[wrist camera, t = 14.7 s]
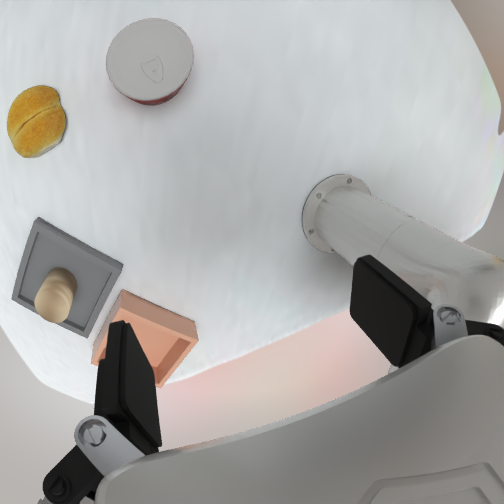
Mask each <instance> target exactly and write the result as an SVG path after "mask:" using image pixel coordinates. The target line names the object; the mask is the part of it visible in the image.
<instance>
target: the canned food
mask: <svg viewBox="0 0 504 504" xmlns="http://www.w3.org/2000/svg"><path fill="white" fill-rule="evenodd" d="M193 57H194V54H193V47H192V44H191V41H190V39H189V37H188V36H187V34H186V33H185V32H184V31H183V30H182V29H181V28H180V27H179V26H178V25H176V24H174V23H172V22H170V21H167V20H164V19H158V18H149V19H144V20H140V21H137V22H134V23H132V24H130V25H129V26H127V27H125V28H124V29H123V30H122V31H121V32H119V33H118V34H117V36H116V37H115V38H114V39H113V41H112V43H111V45H110V46H109V49H108V52H107V56H106V69H107V73H108V76H109V79H110V81H111V82H112V84H113V86H114V87H115V88H116V89H117V90H118V91H119V92H120V93H122V94H123V95H125V96H126V97H128V98H130V99H132V100H134V101H135V102H138V103H140V104H144V105H157V104H161V103H164V102H166V101H168V100H170V99H171V98H173V97H174V96H175V95H176V94H177V93H178V91H179V90H180V89H181V87H182V86H183V84H184V83H185V81H186V80H187V78H188V76H189V74H190V72H191V68H192V65H193Z"/></svg>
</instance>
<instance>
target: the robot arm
mask: <svg viewBox="0 0 504 504" xmlns="http://www.w3.org/2000/svg"><path fill="white" fill-rule="evenodd" d="M302 224H303V229H304V232H305V235H306V237H307V239H308V240H309V242H310V243H311V244H312V245H313V246H314V247H316V248H317V249H319V250H321V251H323V252H327V253H338V254H339V255H341V256H342V257H343V258H344V259H345V260H346V261H348V262H349V263H350V264H351V265H352V266H353V267H354V268H353V281H352V292H351V302H350V315H351V317H352V318H353V320H354V321H355V322H356V323H357V324H358V325H359V326H360V328H361V329H362V330H363V331H364V332H365V333H366V335H367V336H368V337H369V338H370V339H371V340H372V342H373V343H374V344H375V345H376V346H377V347H378V349H379V350H380V351H381V352H382V353H383V354H384V355H385V357H386V358H387V359H388V360H389V361H390V363H391V366H390V369H389V372H388V375H386V376H384V377H382V378H380V379H378V380H376V381H374V382H372V383H370V384H368V385H366V386H364V387H361V388H360V389H357V390H355V391H353V392H351V393H348V394H346V395H344V396H342V397H339V398H337V399H335V400H332V401H330V402H328V403H325V404H323V405H320V406H318V407H315V408H313V409H310V410H307V411H305V412H302V413H300V414H297V415H294V416H291V417H288V418H285V419H283V420H280V421H277V422H274V423H271V424H268V425H265V426H262V427H258V428H255V429H251V430H248V431H245V432H241V433H238V434H234V435H230V436H227V437H222V438H219V439H214V440H210V441H207V442H202V443H198V444H194V445H189V446H184V447H179V448H175V449H171V450H167V451H162V452H159V450H158V447H161V446H162V440H161V433H160V425H159V416H158V407H157V396H156V385H155V375H154V371H153V368H152V366H151V364H150V362H149V361H148V359H147V357H146V355H145V353H144V351H143V349H142V347H141V345H140V343H139V341H138V339H137V337H136V334H135V332H134V330H133V328H132V326H131V324H130V323H125V321H124V320H121V321H116V322H112V323H110V324H109V329H108V337H107V344H106V353H105V359H100V361H99V364H98V373H97V383H96V394H95V408H94V415H93V416H89V417H86V418H85V419H83V420H81V422H79V424H78V425H77V427H76V429H75V433H74V438H75V442H76V444H77V445H76V446H75V447H74V448H73V449H72V450H71V451H70V452H69V453H68V454H67V455H66V456H65V457H64V458H63V459H62V460H61V461H60V462H59V463H58V464H57V465H56V466H55V467H54V468H53V469H52V470H51V471H50V472H49V473H48V474H47V475H46V477H45V478H44V482H43V492H44V494H45V497H44V499H43V500H42V499H40V500H39V502H38V504H504V260H502V259H500V258H498V257H496V256H494V255H491V254H489V253H486V252H484V251H481V250H479V249H476V248H474V247H471V246H469V245H467V244H464V243H462V242H460V241H458V240H455V239H453V238H451V237H449V236H448V235H446V234H444V233H442V232H440V231H438V230H436V229H434V228H432V227H430V226H429V225H427V224H425V223H423V222H421V221H419V220H418V219H416V218H414V217H412V216H410V215H408V214H406V213H404V212H402V211H401V210H399V209H397V208H395V207H393V206H391V205H389V204H387V203H385V202H383V201H381V200H379V199H377V198H375V197H373V196H372V195H371V193H370V191H369V189H368V187H367V186H366V184H365V183H363V182H362V181H361V180H360V179H358V178H356V177H353V176H351V175H345V174H340V175H334V176H331V177H329V178H327V179H325V180H324V181H322V182H321V183H320V184H318V185H317V186H316V187H315V189H314V190H313V191H312V192H311V194H310V196H309V197H308V199H307V201H306V204H305V206H304V211H303V219H302Z"/></svg>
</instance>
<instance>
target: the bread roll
mask: <svg viewBox="0 0 504 504" xmlns="http://www.w3.org/2000/svg"><path fill="white" fill-rule="evenodd" d="M65 126H66V119H65V113H64V111H63V109H62V107H61V104H60V101H59V96H58V93H57V92H56V90H55V89H53V88H51V87H48V86H34V87H31V88H28V89H27V90H25V91H23V92H22V93H21V94H20V95H18V97H17V98H16V99H15V100H14V102H13V103H12V105H11V107H10V110H9V113H8V118H7V131H8V135H9V137H10V140H11V142H12V144H13V146H14V149H15V150H16V152H17V153H18V154H19V155H21V156H22V157H24V158H35V157H36V158H37V157H39V156H41V155H42V154H44V153H46V152H48V151H49V150H50V149H52V148H53V147H54V146H56V145H57V144H59V143H60V142H61V139H62V135H63V133H64V130H65Z"/></svg>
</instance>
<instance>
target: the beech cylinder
mask: <svg viewBox="0 0 504 504" xmlns="http://www.w3.org/2000/svg"><path fill="white" fill-rule="evenodd" d="M76 290H77V281H76V278H75V277H74V275H73V274H72V273H71V272H70V271H69V270H67V269H65V268H61V267H57V268H53V269H52V270H50V271H49V273H48V274H47V276H46V278H45V280H44V282H43V284H42V286H41V288H40V289H39V291H38V293H37V295H36V297H35V302H34V303H35V308H36V310H37V312H38V314H39V315H40V316H41V317H42V318H44V319H45V320H47V321H49V322H52V323H60V322H63V321H64V320H65V319H66V318H67V316H68V314H69V311H70V308H71V305H72V302H73V299H74V296H75V293H76Z"/></svg>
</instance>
